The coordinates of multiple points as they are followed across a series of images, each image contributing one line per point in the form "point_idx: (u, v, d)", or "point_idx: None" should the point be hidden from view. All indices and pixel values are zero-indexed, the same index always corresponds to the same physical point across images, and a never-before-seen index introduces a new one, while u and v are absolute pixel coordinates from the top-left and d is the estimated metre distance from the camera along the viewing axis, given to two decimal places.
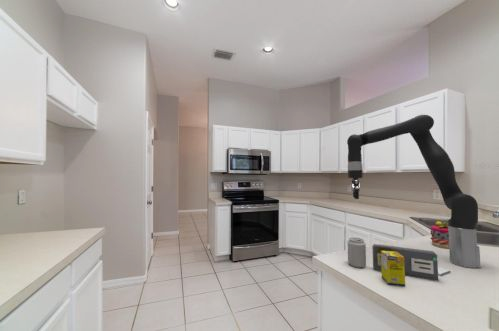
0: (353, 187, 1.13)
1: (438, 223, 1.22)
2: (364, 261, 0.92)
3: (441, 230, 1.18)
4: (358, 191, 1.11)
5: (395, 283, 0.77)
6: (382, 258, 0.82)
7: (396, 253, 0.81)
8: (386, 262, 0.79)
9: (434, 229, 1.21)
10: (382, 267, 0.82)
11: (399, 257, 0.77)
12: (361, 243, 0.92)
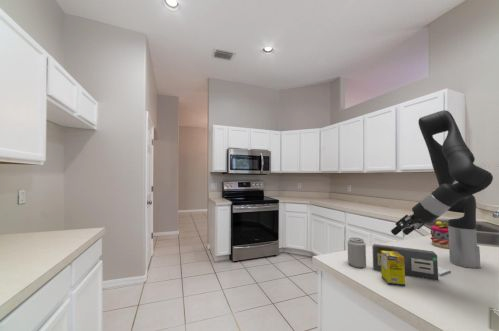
0: (418, 226, 0.84)
1: (438, 223, 1.22)
2: (364, 261, 0.92)
3: (441, 230, 1.18)
4: None
5: (395, 283, 0.77)
6: (382, 258, 0.82)
7: (396, 253, 0.81)
8: (386, 262, 0.79)
9: (434, 229, 1.21)
10: (382, 267, 0.82)
11: (399, 257, 0.77)
12: (361, 243, 0.92)
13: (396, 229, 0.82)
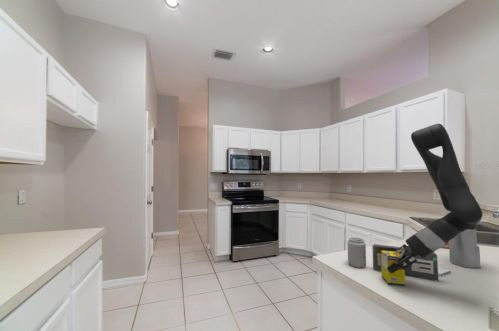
0: None
1: None
2: (364, 261, 0.92)
3: None
4: None
5: (395, 283, 0.77)
6: (382, 258, 0.82)
7: (396, 253, 0.81)
8: (386, 262, 0.79)
9: None
10: (382, 267, 0.82)
11: None
12: (361, 243, 0.92)
13: (395, 268, 0.76)
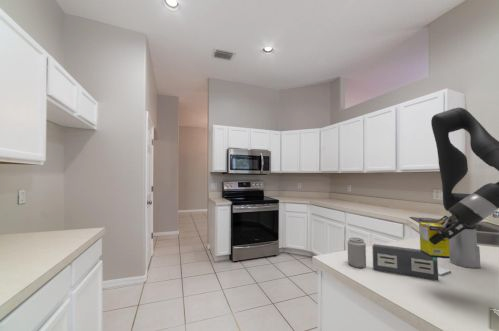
0: None
1: None
2: (364, 261, 0.92)
3: None
4: None
5: (438, 255, 0.71)
6: (421, 230, 0.76)
7: (437, 224, 0.74)
8: (427, 233, 0.73)
9: None
10: (421, 240, 0.76)
11: None
12: (361, 243, 0.92)
13: (439, 238, 0.69)
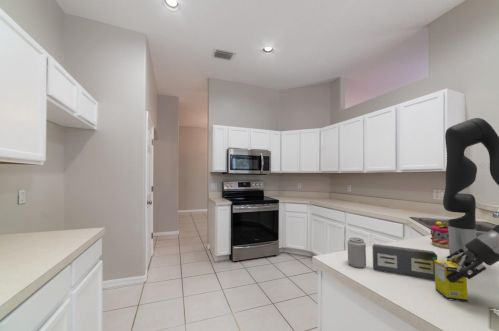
0: None
1: (438, 223, 1.22)
2: (364, 261, 0.92)
3: (441, 230, 1.18)
4: None
5: (455, 298, 0.68)
6: (436, 268, 0.73)
7: (454, 263, 0.71)
8: (443, 273, 0.70)
9: (434, 229, 1.21)
10: (437, 279, 0.73)
11: None
12: (361, 243, 0.92)
13: (457, 276, 0.66)
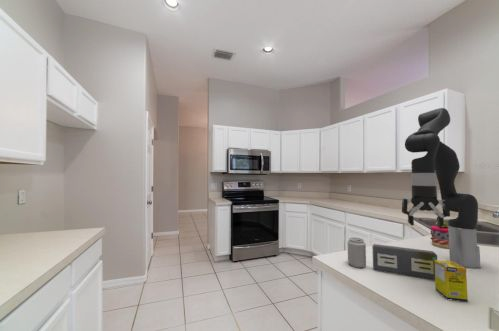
0: (439, 211, 0.77)
1: None
2: (364, 261, 0.92)
3: (441, 230, 1.18)
4: None
5: (455, 298, 0.68)
6: (437, 268, 0.73)
7: (454, 263, 0.71)
8: (443, 273, 0.70)
9: (434, 229, 1.21)
10: (437, 279, 0.73)
11: (460, 268, 0.68)
12: (361, 243, 0.92)
13: (408, 218, 0.82)
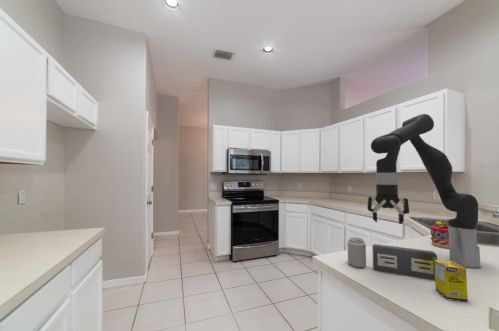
0: None
1: (438, 223, 1.22)
2: (364, 261, 0.92)
3: (441, 230, 1.18)
4: None
5: (455, 298, 0.68)
6: (437, 268, 0.73)
7: (454, 263, 0.71)
8: (443, 273, 0.70)
9: (434, 229, 1.21)
10: (437, 279, 0.73)
11: (460, 268, 0.68)
12: (361, 243, 0.92)
13: (373, 215, 0.87)
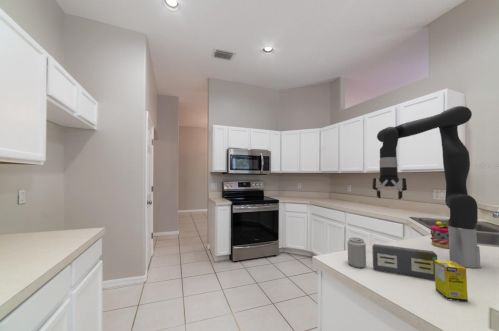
0: None
1: (438, 223, 1.22)
2: (364, 261, 0.92)
3: (441, 230, 1.18)
4: None
5: (455, 298, 0.68)
6: (437, 268, 0.73)
7: (454, 263, 0.71)
8: (443, 273, 0.70)
9: (434, 229, 1.21)
10: (437, 279, 0.73)
11: (460, 268, 0.68)
12: (361, 243, 0.92)
13: (377, 192, 1.06)
